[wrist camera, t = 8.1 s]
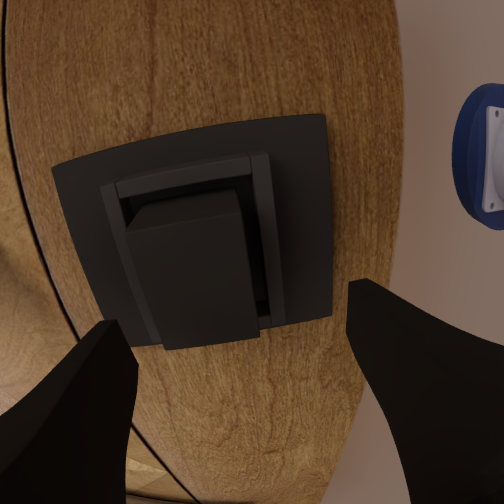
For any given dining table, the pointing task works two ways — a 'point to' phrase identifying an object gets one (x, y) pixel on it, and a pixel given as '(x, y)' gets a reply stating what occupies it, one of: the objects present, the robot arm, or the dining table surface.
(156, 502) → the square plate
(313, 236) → the base pad
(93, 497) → the robot arm
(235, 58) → the dining table surface
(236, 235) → the small block
